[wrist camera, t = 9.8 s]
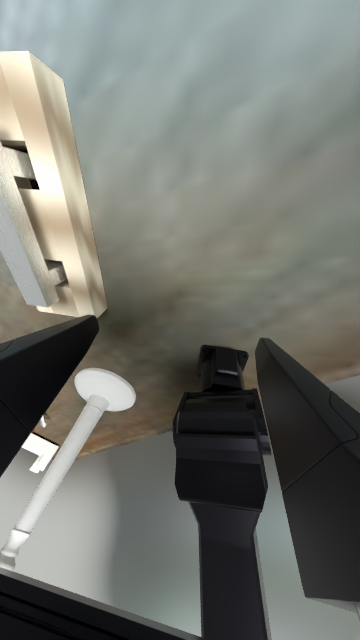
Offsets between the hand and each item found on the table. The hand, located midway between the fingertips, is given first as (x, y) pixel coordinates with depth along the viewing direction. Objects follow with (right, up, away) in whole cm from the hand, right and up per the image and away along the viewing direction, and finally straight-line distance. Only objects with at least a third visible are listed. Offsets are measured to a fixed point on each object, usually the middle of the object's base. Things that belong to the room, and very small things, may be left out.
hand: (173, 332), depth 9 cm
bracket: (-48, -40, +51) cm, 81 cm away
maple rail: (-13, +11, +10) cm, 20 cm away
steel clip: (-13, +11, +10) cm, 20 cm away
